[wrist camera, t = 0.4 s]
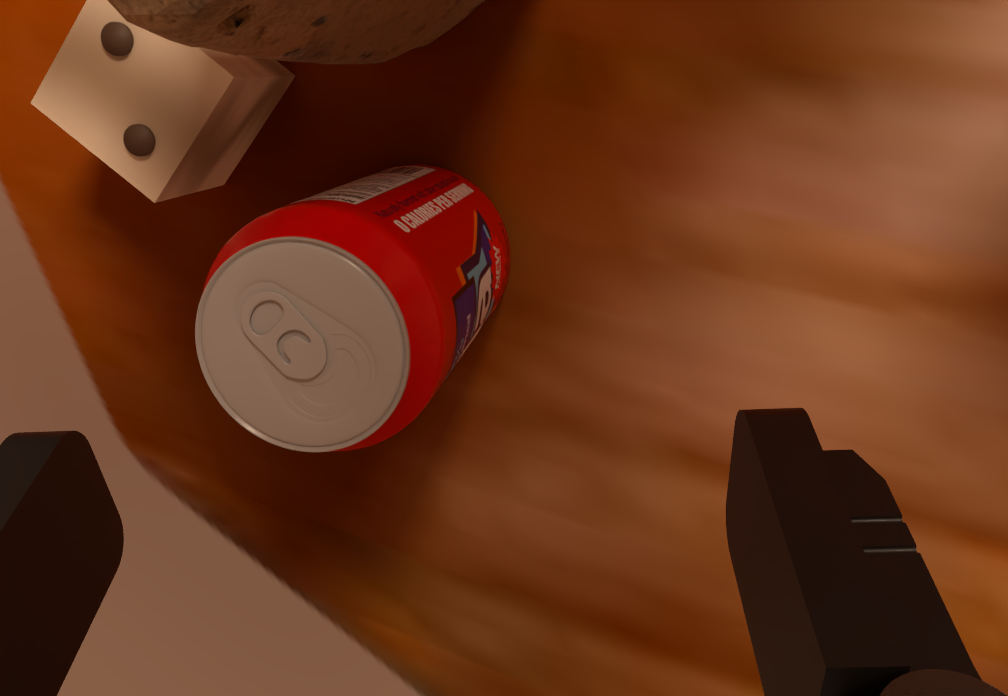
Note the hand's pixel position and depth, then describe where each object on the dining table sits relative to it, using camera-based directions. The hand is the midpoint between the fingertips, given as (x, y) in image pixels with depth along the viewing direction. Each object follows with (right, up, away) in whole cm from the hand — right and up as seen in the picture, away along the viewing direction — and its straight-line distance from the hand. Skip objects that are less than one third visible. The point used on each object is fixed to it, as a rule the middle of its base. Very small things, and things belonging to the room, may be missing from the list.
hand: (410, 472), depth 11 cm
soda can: (-2, +6, +29) cm, 30 cm away
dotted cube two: (-12, +13, +28) cm, 33 cm away
